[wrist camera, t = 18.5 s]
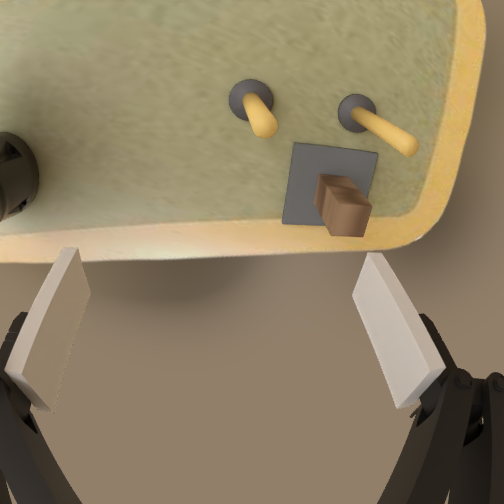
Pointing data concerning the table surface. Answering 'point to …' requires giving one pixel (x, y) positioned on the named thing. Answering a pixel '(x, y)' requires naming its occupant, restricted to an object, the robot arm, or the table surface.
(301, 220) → the mat
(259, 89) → the gate
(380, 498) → the robot arm
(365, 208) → the block
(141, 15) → the table surface
